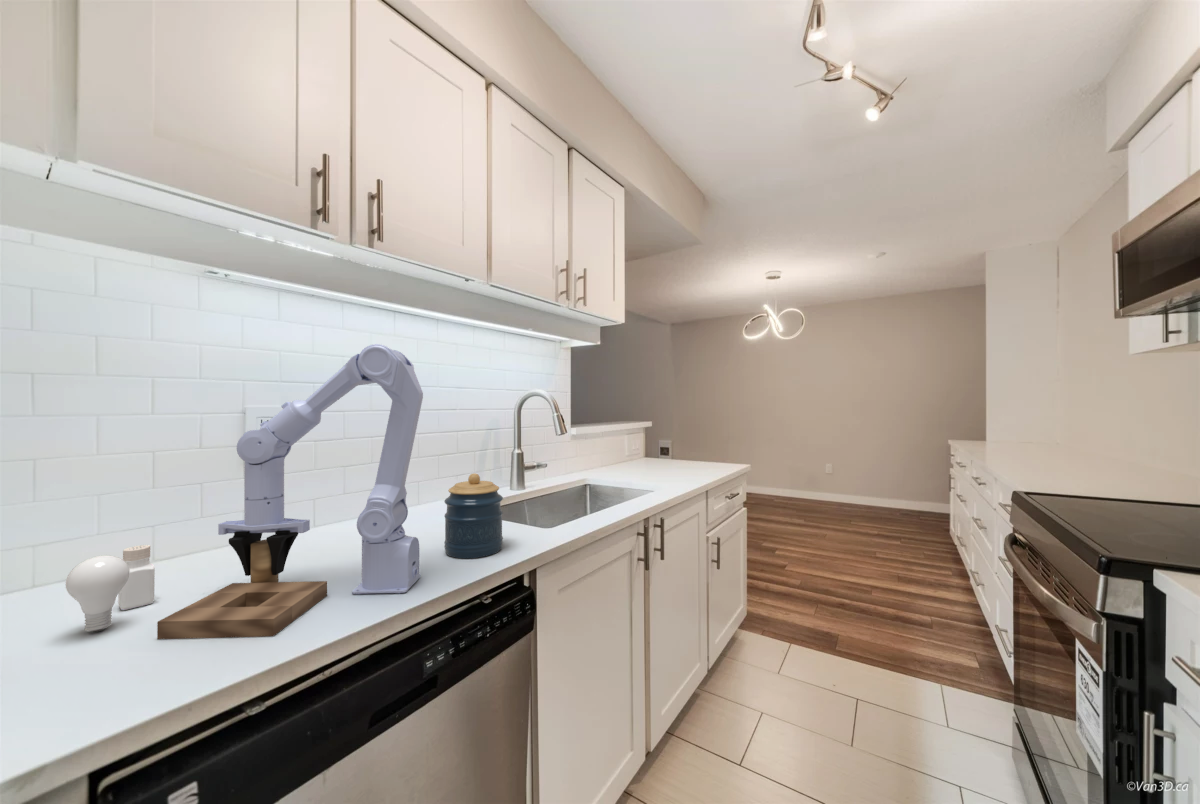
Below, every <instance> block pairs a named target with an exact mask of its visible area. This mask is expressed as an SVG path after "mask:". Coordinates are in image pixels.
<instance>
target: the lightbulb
mask: <svg viewBox="0 0 1200 804" xmlns="http://www.w3.org/2000/svg"><path fill="white" fill-rule="evenodd" d="M129 575H130V570H129V566H128V564H127V563H126V562H125V561H124V560H123V558H121V557H119V556H116V555H110V554H104V555H97V556H92V557H89V558H87V559H84V560H83V561H81V562H80V563H78V564H77V565H75V566H74V567H73V568H72V569H71V570H70V572H68V575H67V577H66V579H65V589H66V591H67V593H68V595H69V596H70V597H72V598H73V599H74V601H76V602H78V604H79V606H80V609H81V611H82V613H83V614H84V631H85V632H90V633H97V632H102V631H104V630H105V629H107V628H108V627H109V626H111V625H112V618H113V616H112V615H113V612H112V610H113V607H114V605H115V603H116V599H117V598H118V593H119V592H120V590H121V589H122V588H123V587H124V585H125V584H126V582H127V581H128V578H129Z"/></svg>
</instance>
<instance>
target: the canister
mask: <svg viewBox="0 0 1200 804" xmlns="http://www.w3.org/2000/svg"><path fill="white" fill-rule="evenodd" d="M499 490H500V487H499V486H498V485H496V484H494V482H492V481H489V480H481V477H480V475H479V474H478V473H475V472H474V473H471V474H470V475H469V476H468V479H467V480H466V481H461V482H457V483H454V485H453V486H452V487H450V488H448V492H449V493H450V494H449V496H448V497H446V498H445V499H444V500H443V501H444V504H445V505H446V513H444V519H445V522H444V524H445V525H444V527H445V530H444V532H445V537H444V538H445V539H444V550H445V554H446V555H447V556H449V557H453V558H455V559H457V558H458V559H476V558H477V559H478V558H484V557H488V556H491V555H494V554H496V553H498V552H500V551H501V550H502V548H503V543H504V540H503V539H504V537H503V514H504V512H503V510H502V508H501V507H502V506H501V502H502V501H503V500H504V498H503V496H502V495H501V494H500V493H499V492H498V491H499Z"/></svg>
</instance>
